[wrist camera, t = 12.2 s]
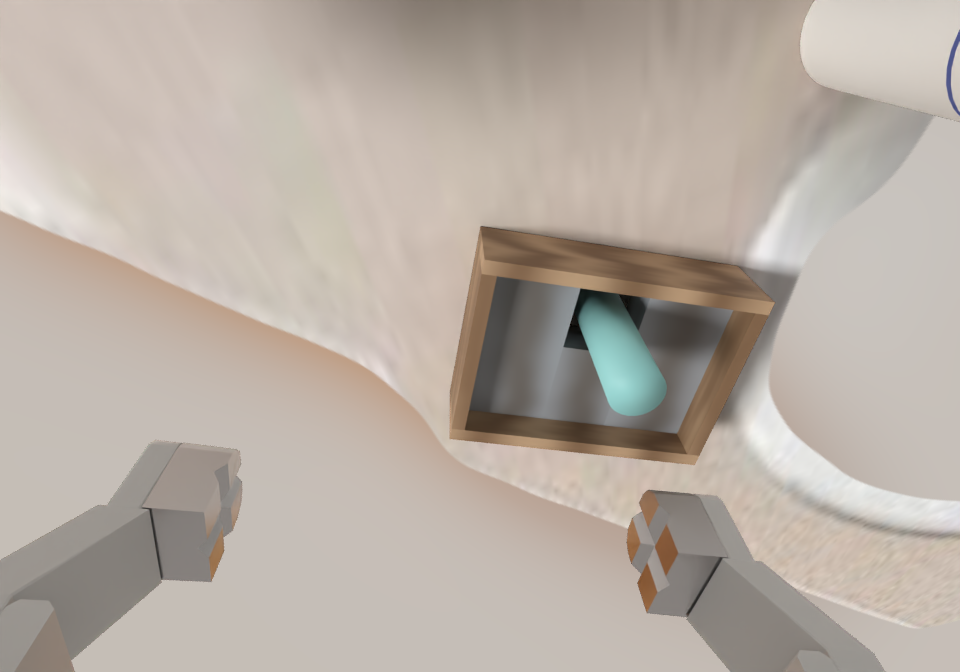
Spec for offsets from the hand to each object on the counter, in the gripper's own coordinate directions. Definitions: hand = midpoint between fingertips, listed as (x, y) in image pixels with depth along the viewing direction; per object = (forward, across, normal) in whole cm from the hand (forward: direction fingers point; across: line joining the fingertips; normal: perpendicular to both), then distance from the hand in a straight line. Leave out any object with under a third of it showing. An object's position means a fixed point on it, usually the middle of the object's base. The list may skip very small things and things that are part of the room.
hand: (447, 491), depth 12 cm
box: (+31, -13, +13) cm, 36 cm away
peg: (+31, -13, +10) cm, 35 cm away
